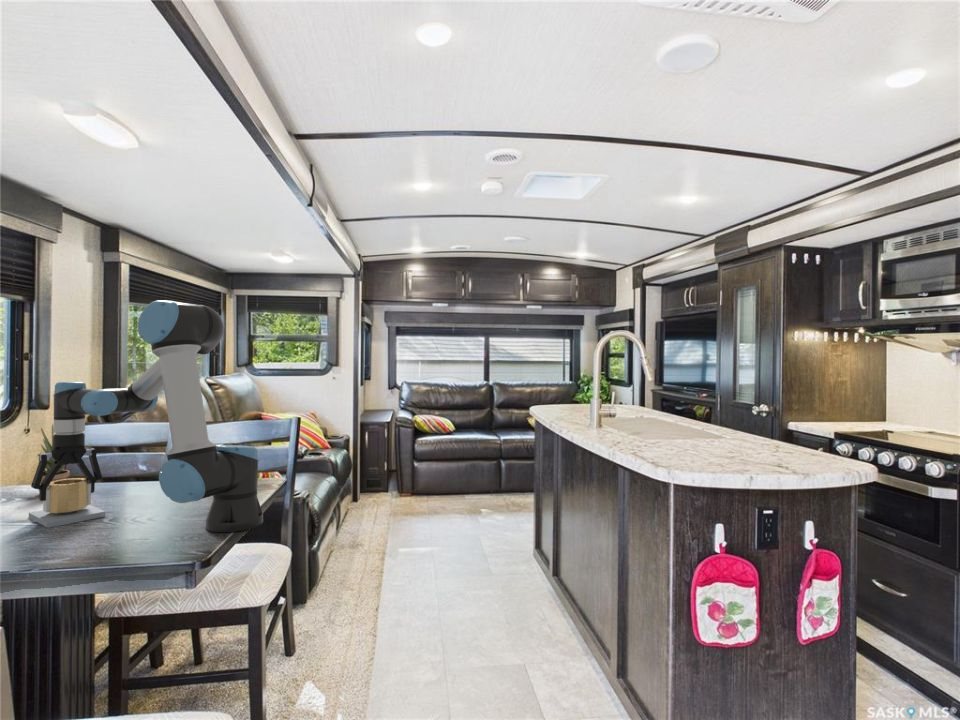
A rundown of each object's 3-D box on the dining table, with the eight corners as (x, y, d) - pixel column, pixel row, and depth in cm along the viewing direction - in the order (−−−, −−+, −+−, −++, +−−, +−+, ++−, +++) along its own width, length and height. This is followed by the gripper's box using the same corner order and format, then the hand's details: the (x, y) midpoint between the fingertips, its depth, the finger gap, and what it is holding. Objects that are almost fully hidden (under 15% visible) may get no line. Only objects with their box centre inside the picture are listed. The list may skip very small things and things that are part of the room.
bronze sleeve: (92, 507, 157) (92, 481, 157) (53, 514, 150) (54, 486, 150) (80, 502, 163) (80, 476, 163) (42, 509, 155) (43, 482, 155)
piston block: (105, 516, 157) (105, 486, 157) (47, 527, 146) (48, 495, 146) (84, 507, 166) (85, 478, 166) (28, 517, 155) (29, 487, 155)
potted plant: (28, 494, 180) (29, 423, 181) (59, 488, 189) (60, 421, 189) (45, 498, 177) (47, 425, 177) (76, 492, 185) (77, 422, 185)
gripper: (106, 428, 168) (104, 498, 167) (17, 435, 149) (15, 513, 149) (116, 430, 163) (114, 502, 163) (26, 438, 145) (24, 518, 145)
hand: (67, 507), depth 156 cm, fingers closed on bronze sleeve, 9 cm apart
